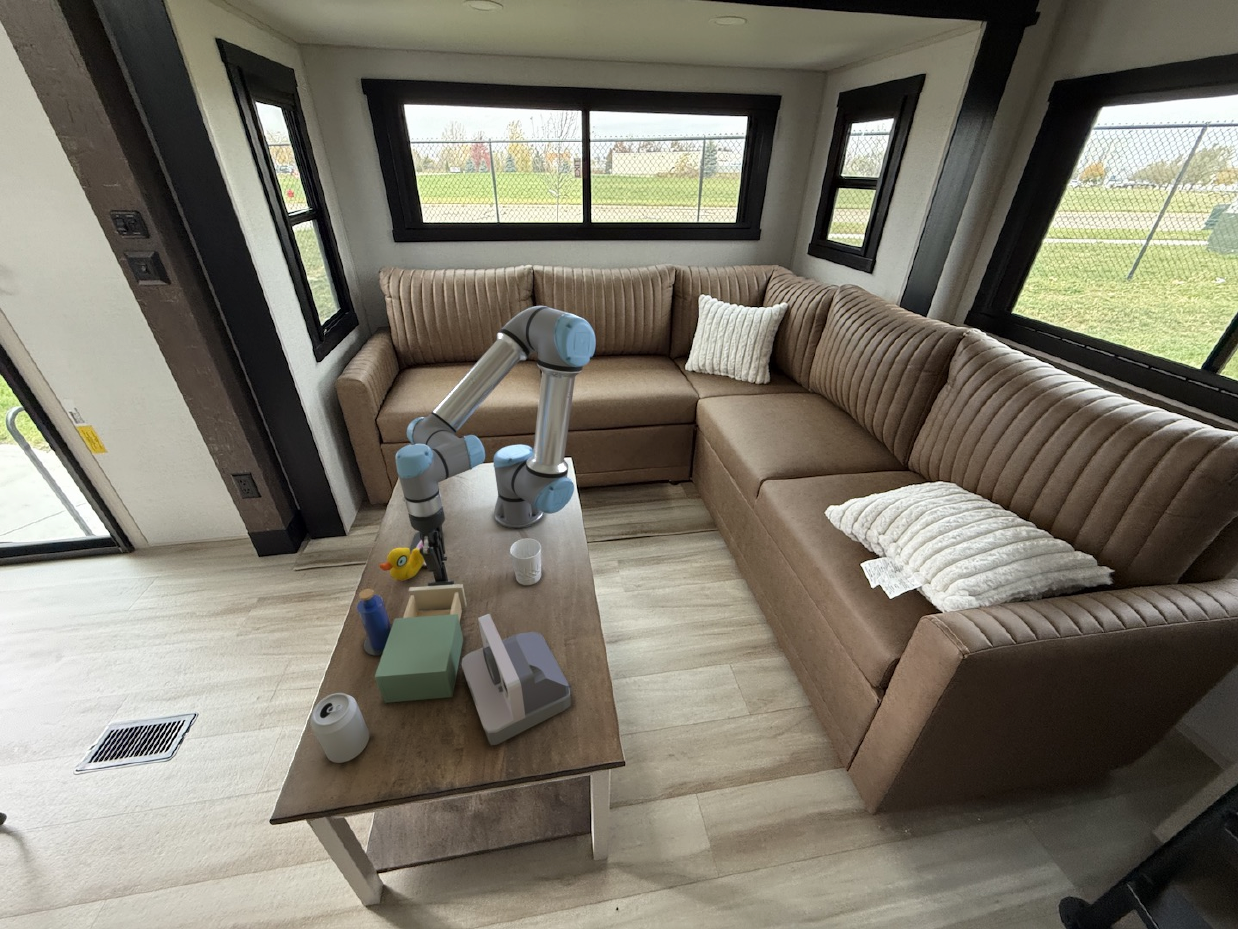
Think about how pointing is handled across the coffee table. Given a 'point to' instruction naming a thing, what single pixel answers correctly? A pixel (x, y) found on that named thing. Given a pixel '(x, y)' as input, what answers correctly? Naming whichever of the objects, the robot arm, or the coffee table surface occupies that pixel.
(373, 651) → the coaster
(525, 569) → the white cup
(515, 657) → the grey stand
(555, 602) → the coffee table surface
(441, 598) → the drawer
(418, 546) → the smartphone
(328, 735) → the can
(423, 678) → the cabinet
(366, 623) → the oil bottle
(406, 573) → the duckling
